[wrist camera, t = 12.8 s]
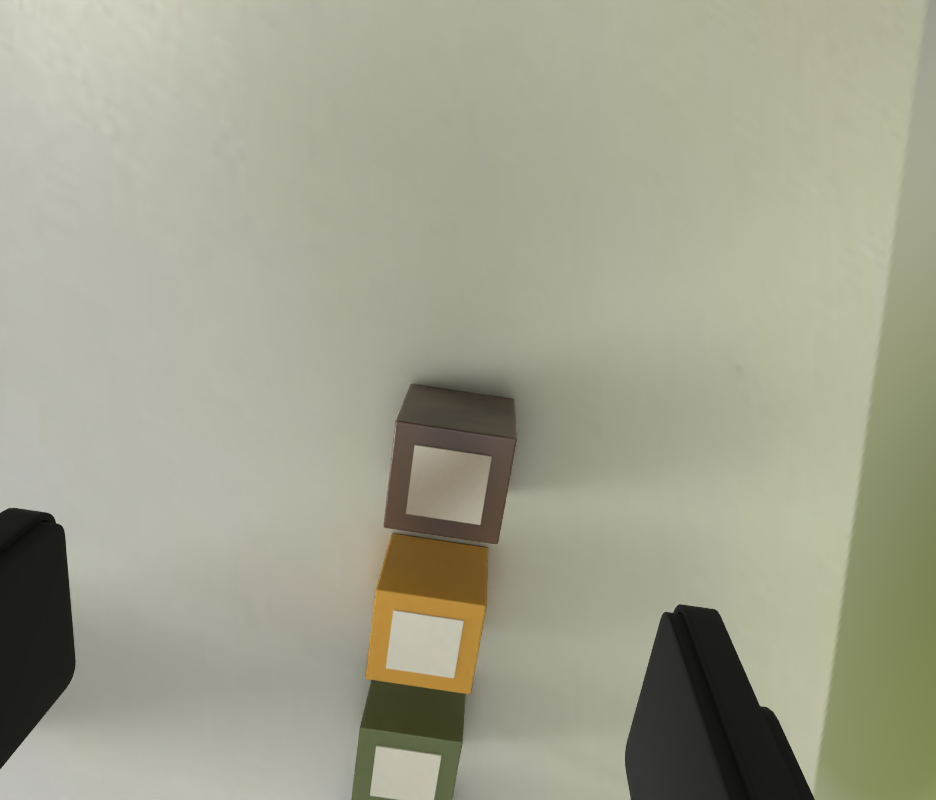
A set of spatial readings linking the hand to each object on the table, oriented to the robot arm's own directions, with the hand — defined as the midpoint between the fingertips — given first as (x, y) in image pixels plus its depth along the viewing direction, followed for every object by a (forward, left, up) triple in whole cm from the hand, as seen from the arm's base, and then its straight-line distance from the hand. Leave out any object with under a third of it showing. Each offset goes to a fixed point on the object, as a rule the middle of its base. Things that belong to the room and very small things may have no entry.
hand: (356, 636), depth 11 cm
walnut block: (-1, +6, -23) cm, 23 cm away
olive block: (-1, +22, -23) cm, 31 cm away
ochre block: (-1, +14, -23) cm, 27 cm away
